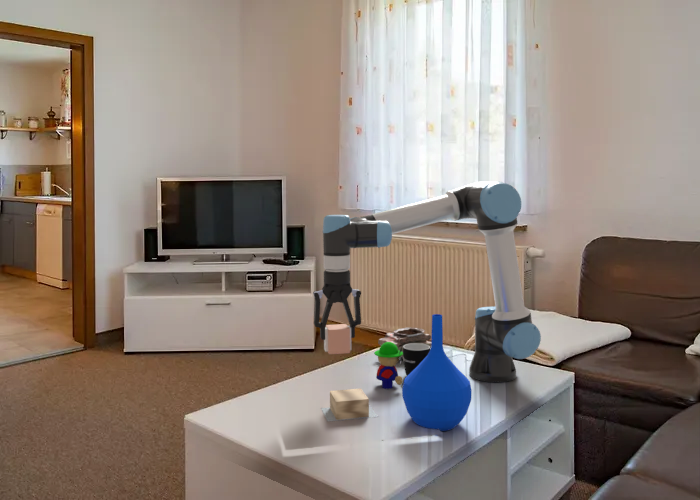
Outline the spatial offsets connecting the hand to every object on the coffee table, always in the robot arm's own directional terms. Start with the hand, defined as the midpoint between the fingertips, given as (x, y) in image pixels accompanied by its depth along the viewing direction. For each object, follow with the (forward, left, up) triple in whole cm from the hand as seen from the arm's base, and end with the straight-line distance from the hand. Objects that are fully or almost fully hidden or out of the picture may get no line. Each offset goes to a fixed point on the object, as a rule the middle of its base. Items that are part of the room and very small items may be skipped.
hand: (337, 349), depth 185 cm
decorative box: (-34, -42, -17) cm, 57 cm away
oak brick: (-1, +8, -16) cm, 18 cm away
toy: (-18, -11, -17) cm, 27 cm away
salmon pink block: (0, 0, 0) cm, 0 cm away
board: (-1, +8, -17) cm, 19 cm away
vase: (-23, +20, -17) cm, 35 cm away
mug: (-31, -20, -17) cm, 41 cm away
